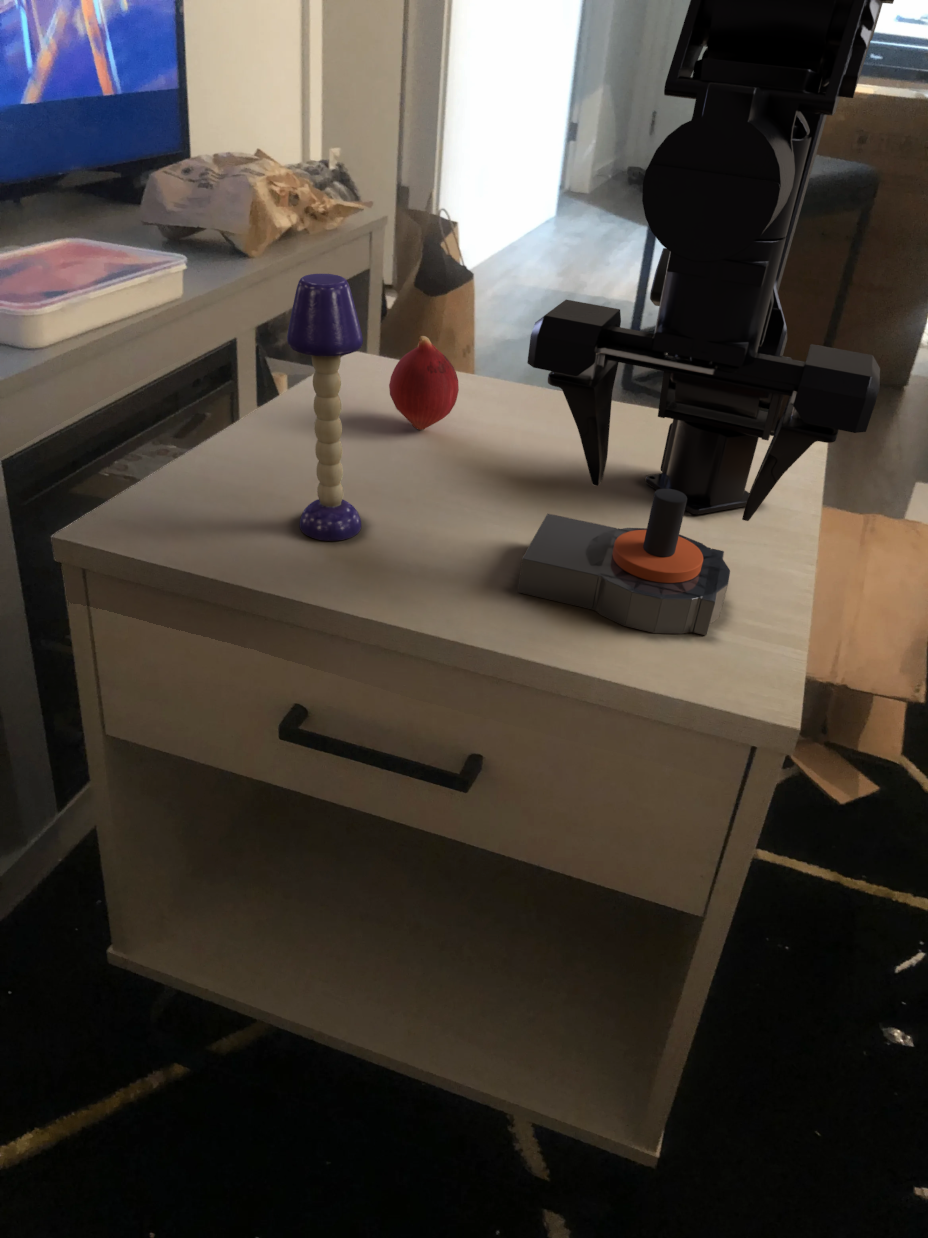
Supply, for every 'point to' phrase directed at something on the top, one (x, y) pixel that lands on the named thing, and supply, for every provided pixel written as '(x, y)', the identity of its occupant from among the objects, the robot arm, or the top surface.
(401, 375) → the onion
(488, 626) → the top surface
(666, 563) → the stopper
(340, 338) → the toy lamp
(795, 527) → the top surface
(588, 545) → the plate
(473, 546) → the top surface
